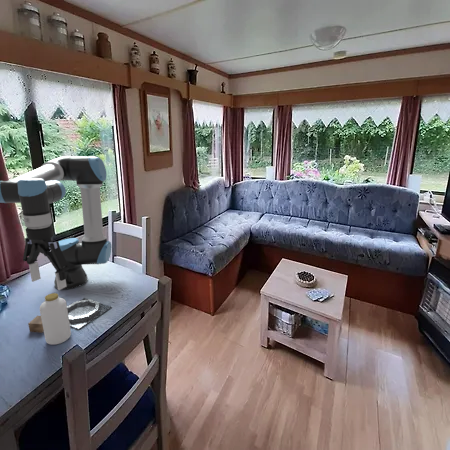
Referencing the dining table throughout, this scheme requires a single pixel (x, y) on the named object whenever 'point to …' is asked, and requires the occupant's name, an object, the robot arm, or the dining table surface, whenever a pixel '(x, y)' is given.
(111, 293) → the dining table surface
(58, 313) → the white plastic bottle
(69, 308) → the ring seat
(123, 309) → the dining table surface
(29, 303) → the dining table surface
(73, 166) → the robot arm
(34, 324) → the walnut block
